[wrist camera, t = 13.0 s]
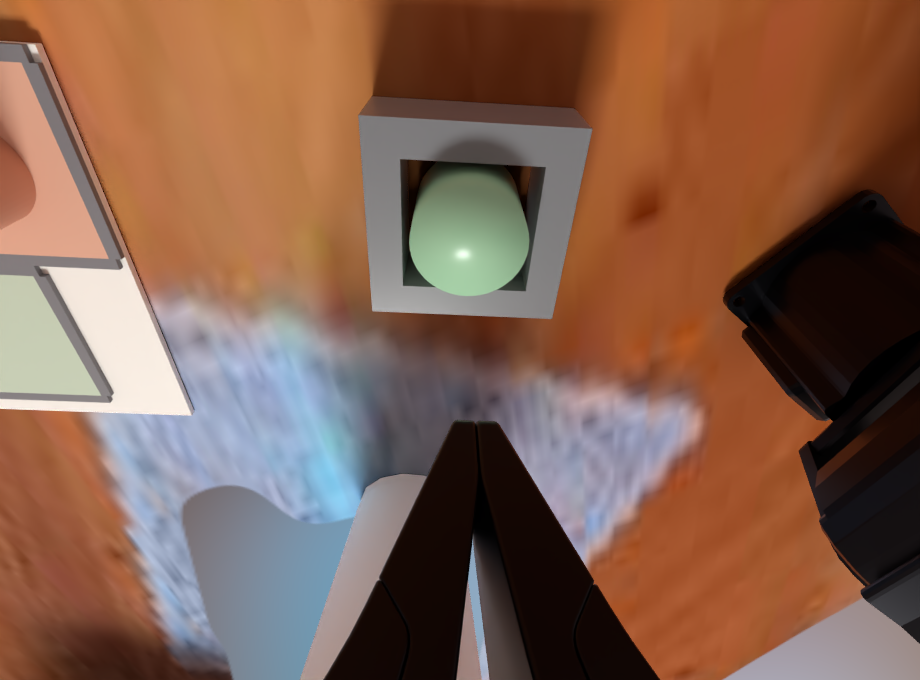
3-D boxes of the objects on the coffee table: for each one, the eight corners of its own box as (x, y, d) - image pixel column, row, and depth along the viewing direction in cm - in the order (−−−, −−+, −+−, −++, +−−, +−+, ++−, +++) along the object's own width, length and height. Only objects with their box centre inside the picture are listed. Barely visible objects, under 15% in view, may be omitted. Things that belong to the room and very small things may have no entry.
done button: (525, 154, 17) (537, 189, 14) (511, 252, 19) (520, 298, 17) (416, 148, 17) (408, 182, 14) (416, 247, 19) (409, 293, 16)
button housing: (574, 108, 16) (592, 128, 14) (541, 282, 21) (551, 319, 18) (372, 95, 16) (358, 115, 14) (381, 274, 20) (372, 311, 18)
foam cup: (357, 442, 27) (295, 726, 17) (503, 477, 29) (528, 749, 19) (325, 526, 33) (263, 780, 22) (450, 551, 35) (447, 794, 24)
